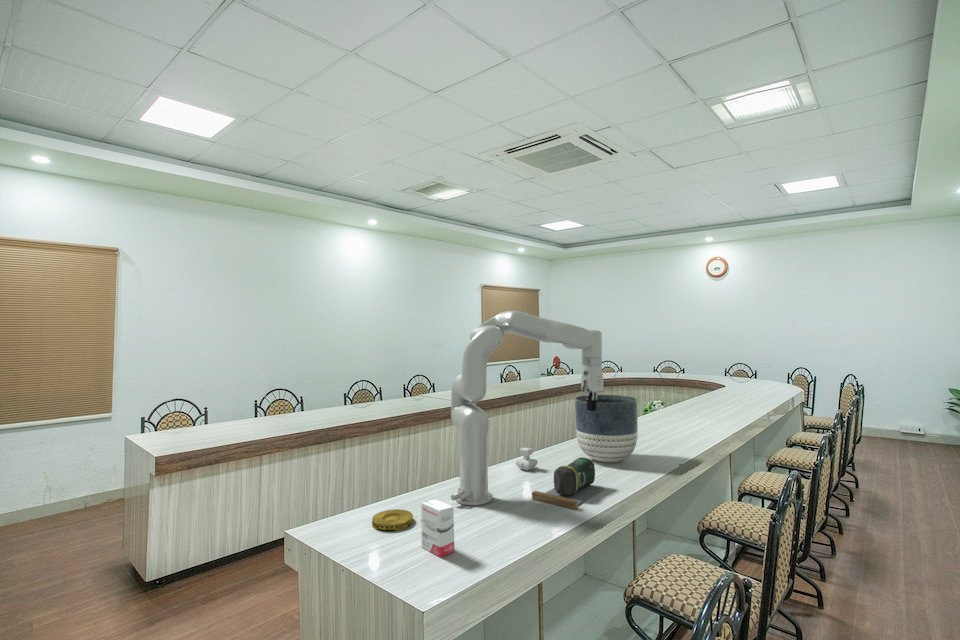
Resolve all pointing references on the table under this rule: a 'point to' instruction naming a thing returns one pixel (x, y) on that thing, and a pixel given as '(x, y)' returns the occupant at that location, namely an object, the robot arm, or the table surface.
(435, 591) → the table surface
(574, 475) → the coffee jar
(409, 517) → the golden flat disc
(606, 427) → the planter
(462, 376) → the robot arm
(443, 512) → the ink box
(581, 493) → the mat
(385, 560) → the table surface
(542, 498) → the rail
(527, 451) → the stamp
